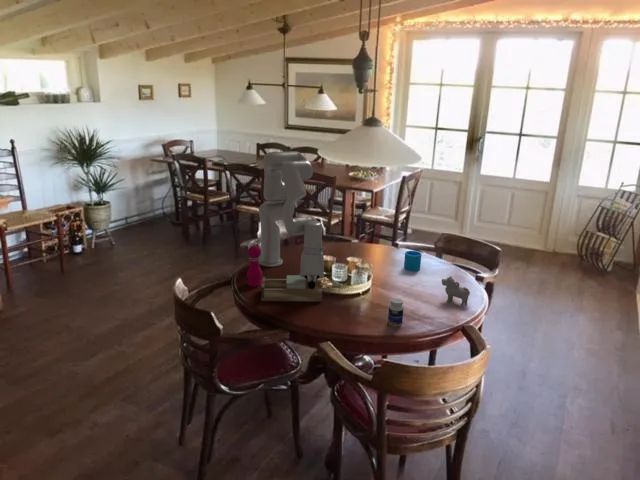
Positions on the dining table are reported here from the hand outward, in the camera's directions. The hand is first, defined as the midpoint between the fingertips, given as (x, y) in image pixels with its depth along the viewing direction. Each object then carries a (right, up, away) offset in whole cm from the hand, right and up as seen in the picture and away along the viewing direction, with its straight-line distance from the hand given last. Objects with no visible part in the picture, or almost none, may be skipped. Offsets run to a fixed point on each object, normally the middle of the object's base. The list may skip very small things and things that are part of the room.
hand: (311, 289), depth 231 cm
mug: (+50, +7, +38) cm, 64 cm away
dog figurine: (+62, -6, 0) cm, 63 cm away
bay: (-9, -3, 0) cm, 9 cm away
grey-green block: (-7, -2, 0) cm, 7 cm away
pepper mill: (-26, +1, +11) cm, 29 cm away
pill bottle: (+33, -12, -22) cm, 42 cm away
